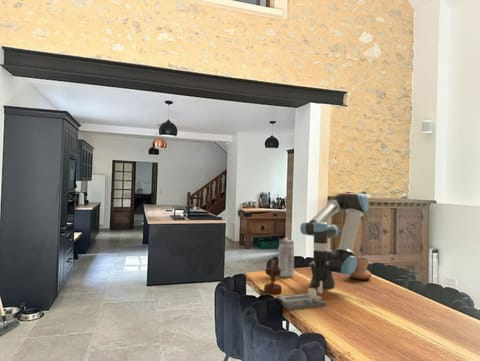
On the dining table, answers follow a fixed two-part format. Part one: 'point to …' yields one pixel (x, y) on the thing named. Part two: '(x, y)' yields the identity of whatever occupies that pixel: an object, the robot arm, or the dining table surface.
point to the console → (301, 301)
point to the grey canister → (286, 257)
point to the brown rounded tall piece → (273, 279)
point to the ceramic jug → (361, 269)
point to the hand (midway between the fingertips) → (319, 292)
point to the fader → (311, 292)
